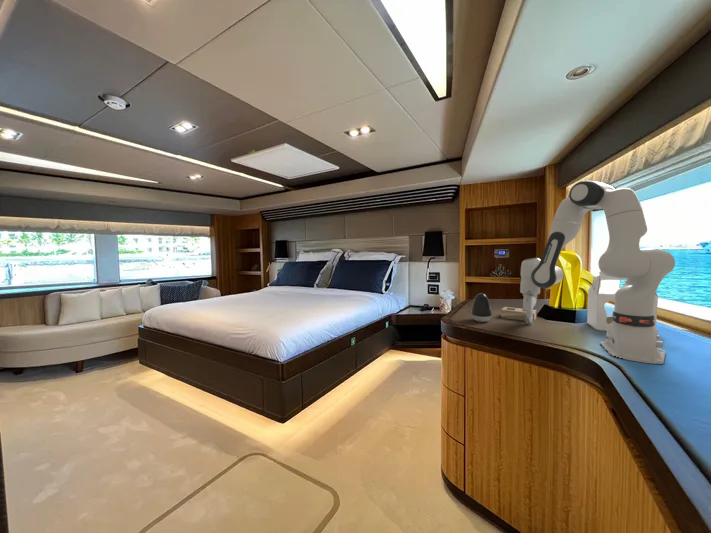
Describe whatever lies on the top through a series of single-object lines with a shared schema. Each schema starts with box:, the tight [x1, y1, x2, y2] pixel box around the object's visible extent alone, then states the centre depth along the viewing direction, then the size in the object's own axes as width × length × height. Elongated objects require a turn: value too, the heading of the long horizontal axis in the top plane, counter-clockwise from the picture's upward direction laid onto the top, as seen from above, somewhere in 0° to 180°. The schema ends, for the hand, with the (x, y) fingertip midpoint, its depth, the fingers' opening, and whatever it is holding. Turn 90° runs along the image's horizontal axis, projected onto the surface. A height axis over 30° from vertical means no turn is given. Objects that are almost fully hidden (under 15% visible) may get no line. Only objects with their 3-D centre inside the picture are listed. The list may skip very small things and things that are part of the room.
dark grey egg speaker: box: [470, 292, 493, 323], centre depth 163 cm, size 10×10×15 cm
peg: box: [525, 308, 534, 326], centre depth 155 cm, size 3×3×10 cm
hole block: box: [500, 306, 537, 323], centre depth 167 cm, size 9×16×4 cm, turn 53°
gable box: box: [586, 270, 659, 332], centre depth 144 cm, size 22×13×28 cm, turn 68°
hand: (529, 316), depth 155 cm, fingers closed on peg, 3 cm apart
